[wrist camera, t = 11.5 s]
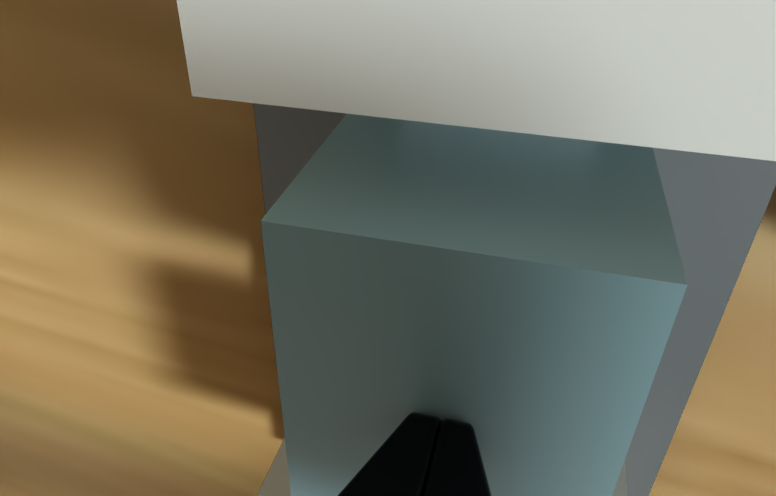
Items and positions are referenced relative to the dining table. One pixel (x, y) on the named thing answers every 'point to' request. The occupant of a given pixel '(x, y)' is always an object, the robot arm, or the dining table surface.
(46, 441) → the dining table surface
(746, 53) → the din board
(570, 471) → the block
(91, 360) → the dining table surface
